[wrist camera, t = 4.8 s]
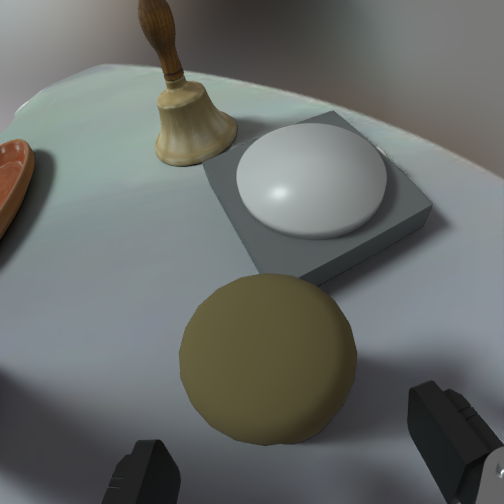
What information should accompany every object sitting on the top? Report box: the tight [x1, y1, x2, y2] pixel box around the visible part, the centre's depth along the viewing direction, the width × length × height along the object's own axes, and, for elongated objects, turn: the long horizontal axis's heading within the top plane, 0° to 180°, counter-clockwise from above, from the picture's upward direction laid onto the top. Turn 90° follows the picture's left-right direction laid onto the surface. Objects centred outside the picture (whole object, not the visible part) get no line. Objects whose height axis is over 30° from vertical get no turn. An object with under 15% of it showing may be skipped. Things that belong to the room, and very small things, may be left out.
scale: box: [202, 111, 433, 286], centre depth 22 cm, size 12×12×4 cm
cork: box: [179, 273, 357, 446], centre depth 12 cm, size 6×6×11 cm
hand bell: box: [138, 0, 237, 166], centre depth 23 cm, size 8×8×16 cm
